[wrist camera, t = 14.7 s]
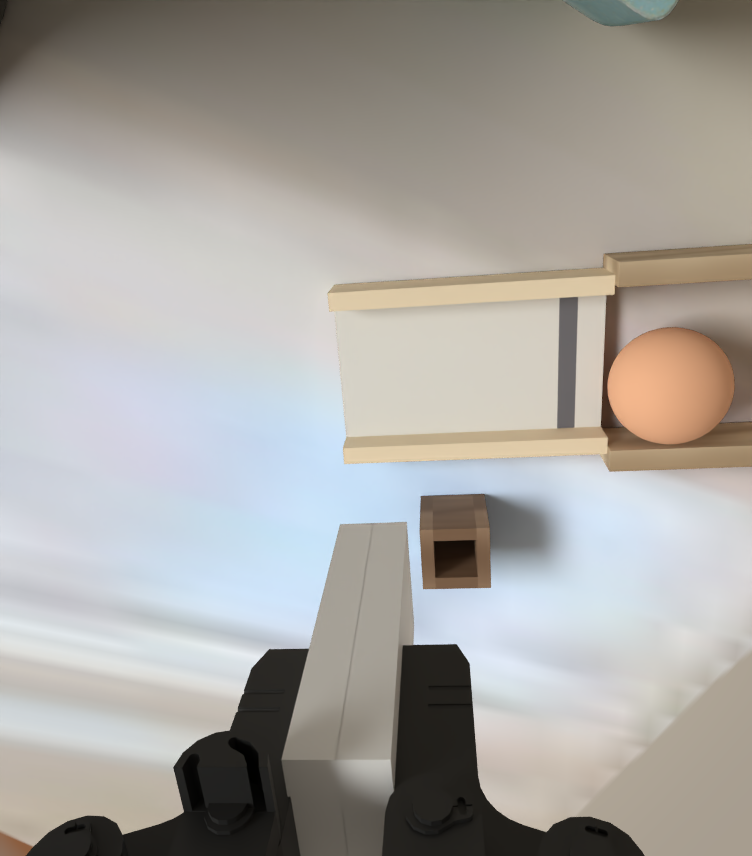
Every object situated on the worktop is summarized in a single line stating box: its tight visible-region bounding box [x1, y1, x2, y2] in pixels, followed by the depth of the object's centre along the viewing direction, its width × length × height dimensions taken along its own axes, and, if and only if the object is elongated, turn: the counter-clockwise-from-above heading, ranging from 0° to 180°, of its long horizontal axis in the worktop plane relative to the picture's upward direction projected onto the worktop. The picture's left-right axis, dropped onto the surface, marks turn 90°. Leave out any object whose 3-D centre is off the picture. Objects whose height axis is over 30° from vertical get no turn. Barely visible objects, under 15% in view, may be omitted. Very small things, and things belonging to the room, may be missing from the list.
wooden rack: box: [600, 244, 752, 472], centre depth 30 cm, size 9×9×3 cm
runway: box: [328, 268, 615, 464], centre depth 31 cm, size 8×12×2 cm, turn 94°
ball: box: [607, 327, 735, 444], centre depth 30 cm, size 5×5×5 cm
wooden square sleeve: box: [420, 494, 491, 589], centre depth 34 cm, size 3×3×4 cm
